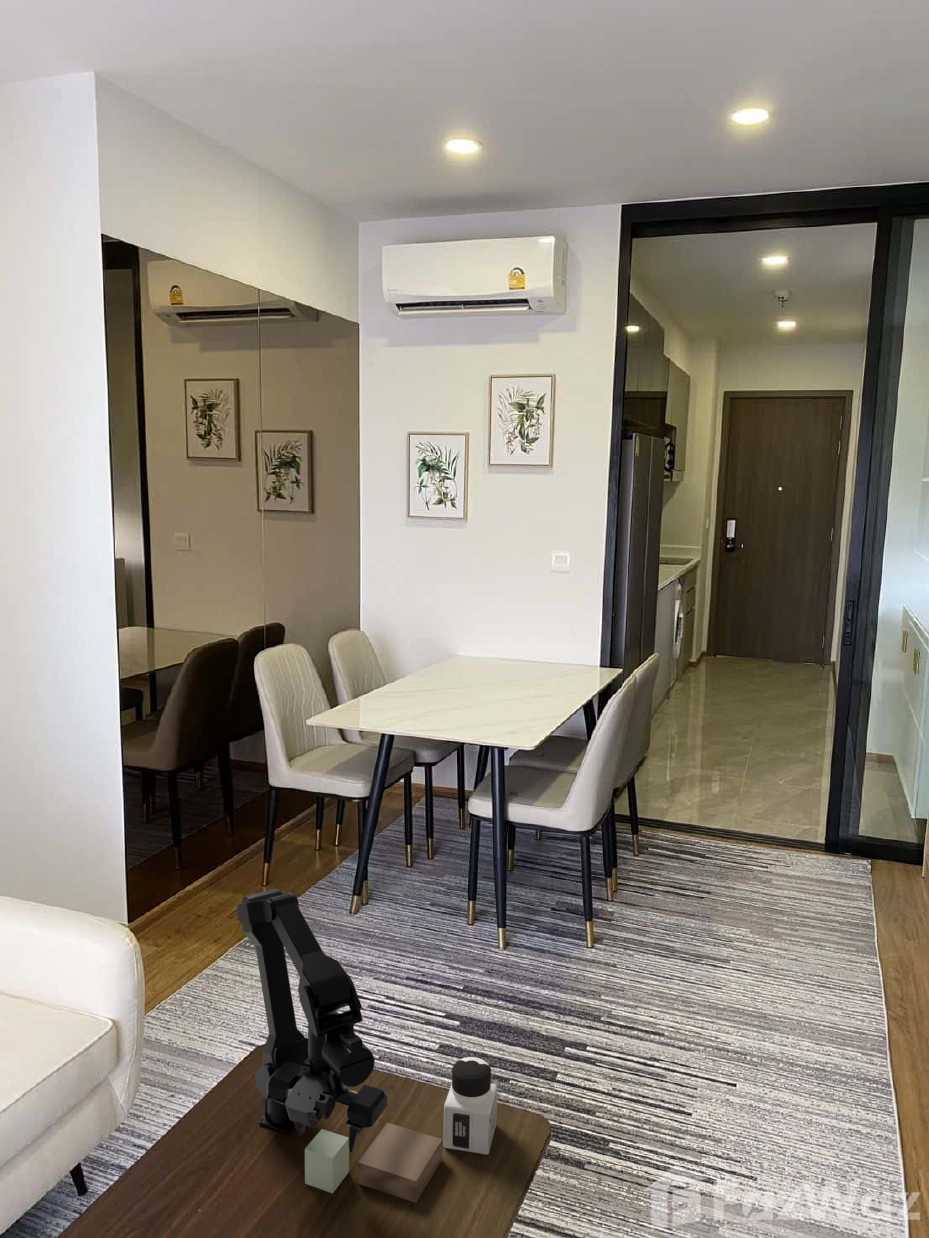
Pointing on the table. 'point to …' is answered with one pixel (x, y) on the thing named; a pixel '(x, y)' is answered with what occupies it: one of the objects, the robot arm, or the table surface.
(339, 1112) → the table surface
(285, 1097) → the robot arm
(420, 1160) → the walnut box
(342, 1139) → the sage block
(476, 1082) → the container
